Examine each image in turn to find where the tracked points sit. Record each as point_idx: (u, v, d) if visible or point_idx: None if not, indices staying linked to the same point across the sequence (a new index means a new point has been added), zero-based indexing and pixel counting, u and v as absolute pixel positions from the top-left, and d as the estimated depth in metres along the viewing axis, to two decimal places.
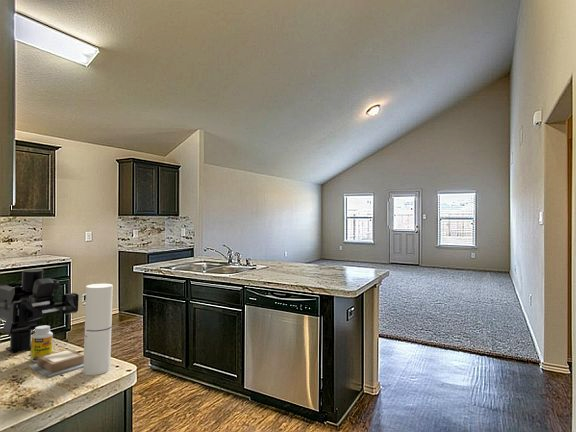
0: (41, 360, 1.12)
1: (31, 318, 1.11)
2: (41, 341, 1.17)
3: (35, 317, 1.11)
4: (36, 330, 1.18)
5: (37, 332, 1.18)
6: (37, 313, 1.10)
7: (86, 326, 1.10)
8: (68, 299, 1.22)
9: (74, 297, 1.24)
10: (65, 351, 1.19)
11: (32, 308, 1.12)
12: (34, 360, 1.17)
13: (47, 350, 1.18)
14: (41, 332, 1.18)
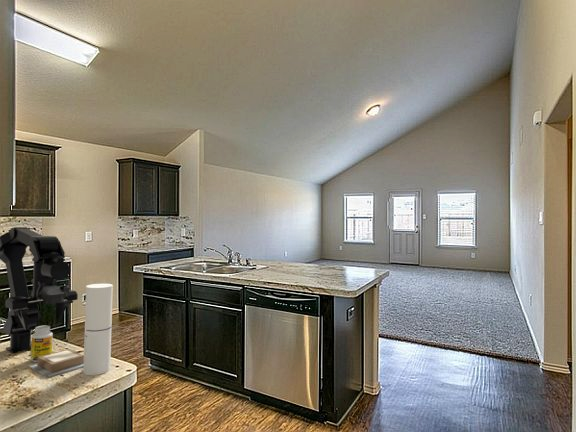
0: (41, 360, 1.12)
1: (19, 317, 1.16)
2: (41, 341, 1.17)
3: (21, 321, 1.16)
4: (36, 330, 1.18)
5: (37, 332, 1.18)
6: (24, 324, 1.15)
7: (86, 326, 1.10)
8: (64, 305, 1.23)
9: None
10: (65, 351, 1.19)
11: (25, 316, 1.14)
12: (34, 360, 1.17)
13: (47, 350, 1.18)
14: (41, 332, 1.18)
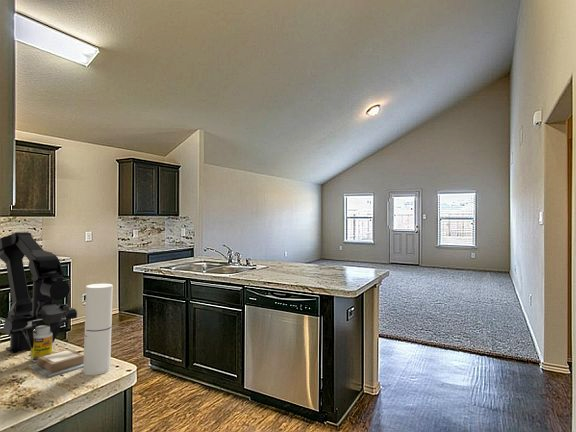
0: (41, 360, 1.12)
1: (25, 335, 1.17)
2: (41, 341, 1.17)
3: (27, 340, 1.17)
4: (36, 330, 1.18)
5: (37, 332, 1.18)
6: (29, 343, 1.16)
7: (86, 326, 1.10)
8: (59, 324, 1.22)
9: None
10: (65, 351, 1.19)
11: (30, 334, 1.16)
12: (34, 360, 1.17)
13: (47, 350, 1.18)
14: (41, 332, 1.18)
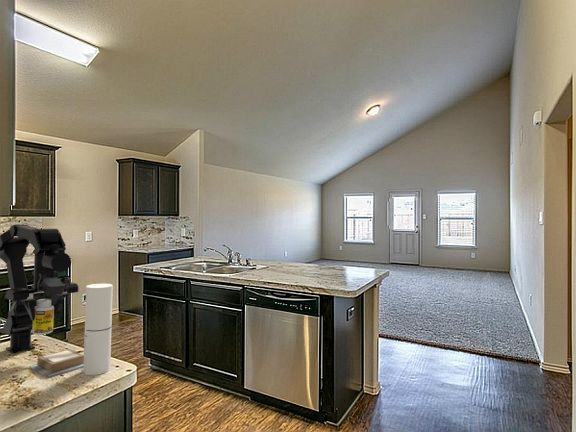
0: (41, 360, 1.12)
1: (26, 308, 1.17)
2: (43, 314, 1.17)
3: (28, 312, 1.17)
4: (37, 303, 1.18)
5: (38, 305, 1.18)
6: (31, 315, 1.16)
7: (86, 326, 1.10)
8: (60, 298, 1.22)
9: (67, 295, 1.23)
10: (65, 351, 1.19)
11: (32, 306, 1.16)
12: (35, 333, 1.17)
13: (49, 323, 1.18)
14: (43, 305, 1.18)
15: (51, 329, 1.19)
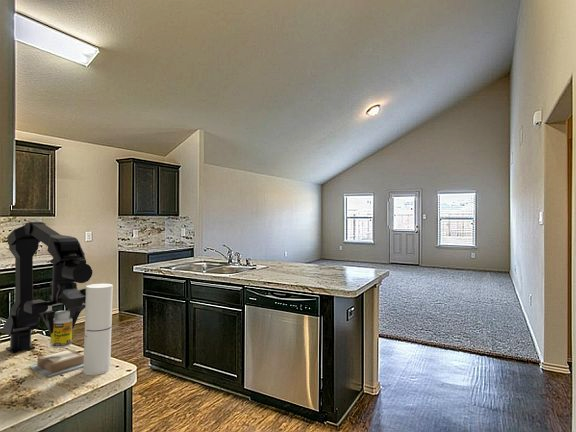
0: (41, 360, 1.12)
1: (44, 320, 1.12)
2: (61, 326, 1.13)
3: (46, 325, 1.12)
4: (56, 315, 1.13)
5: (57, 317, 1.13)
6: (49, 328, 1.12)
7: (86, 326, 1.10)
8: (79, 310, 1.17)
9: None
10: (65, 351, 1.19)
11: (50, 319, 1.11)
12: (54, 346, 1.12)
13: (67, 336, 1.14)
14: (61, 317, 1.13)
15: (70, 342, 1.15)
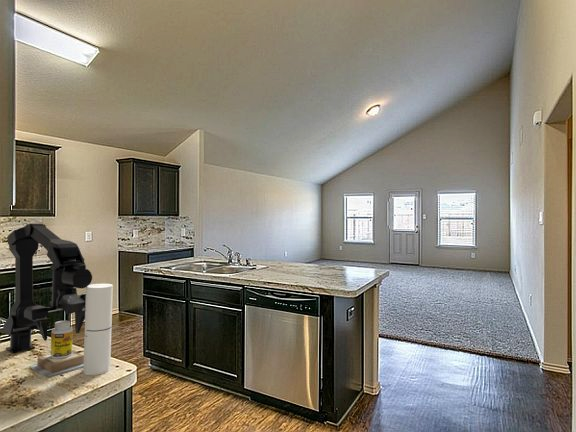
0: (41, 360, 1.12)
1: (38, 327, 1.11)
2: (62, 337, 1.12)
3: (40, 332, 1.11)
4: (56, 325, 1.13)
5: (57, 327, 1.13)
6: (43, 335, 1.10)
7: (86, 326, 1.10)
8: (84, 314, 1.18)
9: None
10: None
11: (44, 326, 1.09)
12: (54, 356, 1.12)
13: (68, 346, 1.14)
14: (61, 327, 1.13)
15: (70, 352, 1.15)
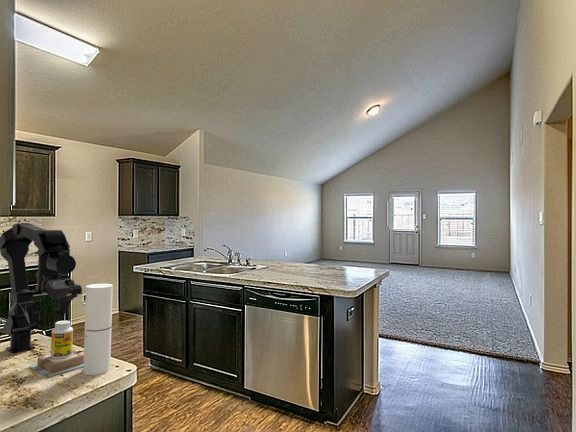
0: (41, 360, 1.12)
1: (23, 310, 1.15)
2: (62, 337, 1.12)
3: (25, 315, 1.15)
4: (56, 325, 1.13)
5: (57, 327, 1.13)
6: (28, 318, 1.14)
7: (86, 326, 1.10)
8: (69, 299, 1.22)
9: None
10: None
11: (29, 309, 1.13)
12: (54, 356, 1.12)
13: (68, 346, 1.14)
14: (62, 327, 1.13)
15: (70, 352, 1.15)
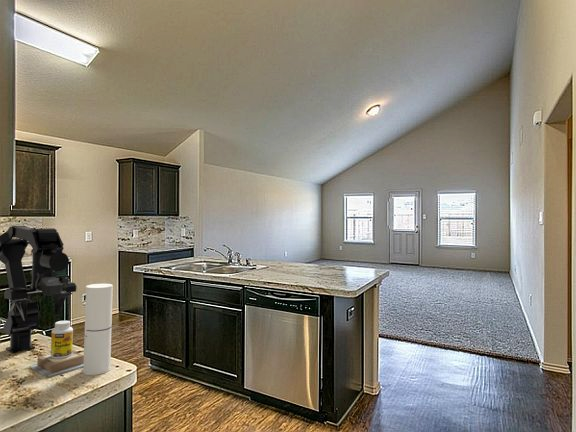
0: (41, 360, 1.12)
1: (18, 308, 1.16)
2: (62, 337, 1.12)
3: (20, 312, 1.16)
4: (56, 325, 1.13)
5: (57, 327, 1.13)
6: (23, 315, 1.16)
7: (86, 326, 1.10)
8: (63, 296, 1.24)
9: None
10: None
11: (24, 307, 1.15)
12: (54, 356, 1.12)
13: (68, 346, 1.14)
14: (62, 327, 1.13)
15: (70, 352, 1.15)
